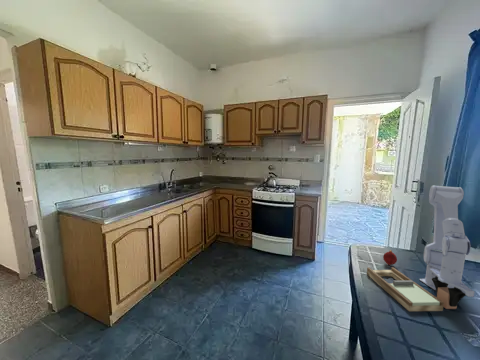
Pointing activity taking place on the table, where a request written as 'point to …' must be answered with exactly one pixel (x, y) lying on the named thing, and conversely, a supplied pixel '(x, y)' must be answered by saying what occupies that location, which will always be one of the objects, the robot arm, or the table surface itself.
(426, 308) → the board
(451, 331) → the table surface
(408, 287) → the lid
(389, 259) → the onion
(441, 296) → the block
